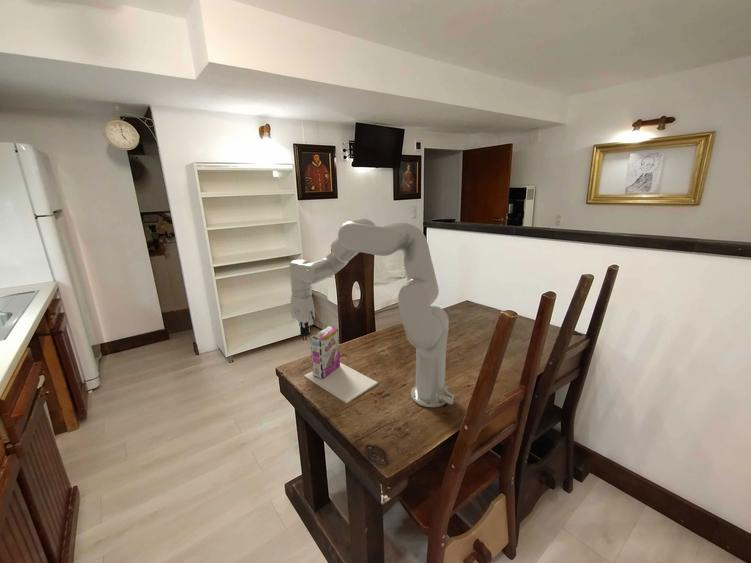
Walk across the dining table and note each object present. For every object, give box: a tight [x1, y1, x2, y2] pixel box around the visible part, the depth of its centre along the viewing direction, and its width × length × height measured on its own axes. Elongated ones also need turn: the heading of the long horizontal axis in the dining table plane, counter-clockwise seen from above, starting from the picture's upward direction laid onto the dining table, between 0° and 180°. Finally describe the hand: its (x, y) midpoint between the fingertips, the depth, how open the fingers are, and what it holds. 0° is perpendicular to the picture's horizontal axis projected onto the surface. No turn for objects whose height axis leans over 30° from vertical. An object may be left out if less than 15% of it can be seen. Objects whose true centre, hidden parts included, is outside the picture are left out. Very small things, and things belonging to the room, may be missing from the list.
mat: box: [303, 362, 379, 404], centre depth 120 cm, size 24×15×1 cm, turn 47°
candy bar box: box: [309, 325, 341, 379], centre depth 123 cm, size 11×5×16 cm, turn 149°
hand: (305, 335), depth 130 cm, fingers closed
